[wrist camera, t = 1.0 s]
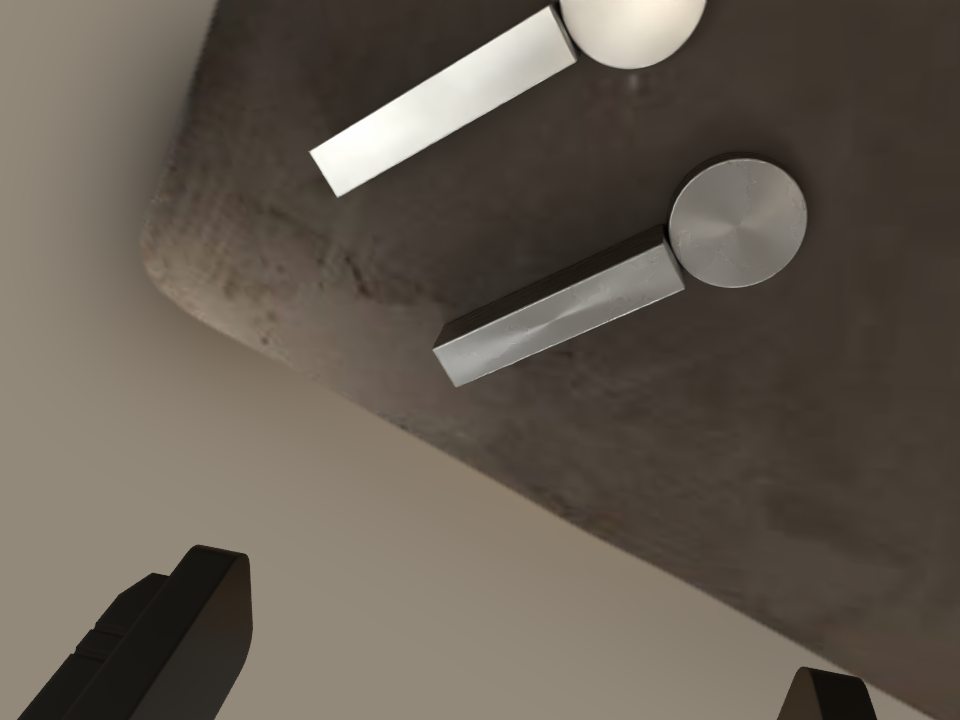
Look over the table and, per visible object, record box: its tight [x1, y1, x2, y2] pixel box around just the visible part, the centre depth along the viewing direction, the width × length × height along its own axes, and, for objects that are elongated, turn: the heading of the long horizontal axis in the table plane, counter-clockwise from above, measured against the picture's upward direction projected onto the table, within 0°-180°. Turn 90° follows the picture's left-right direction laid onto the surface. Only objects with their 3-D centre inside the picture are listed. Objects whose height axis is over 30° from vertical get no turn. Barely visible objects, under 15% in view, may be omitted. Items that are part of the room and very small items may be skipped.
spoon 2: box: [432, 152, 808, 388], centre depth 27 cm, size 13×4×2 cm, turn 120°
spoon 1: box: [309, 0, 708, 198], centre depth 25 cm, size 13×4×2 cm, turn 120°
